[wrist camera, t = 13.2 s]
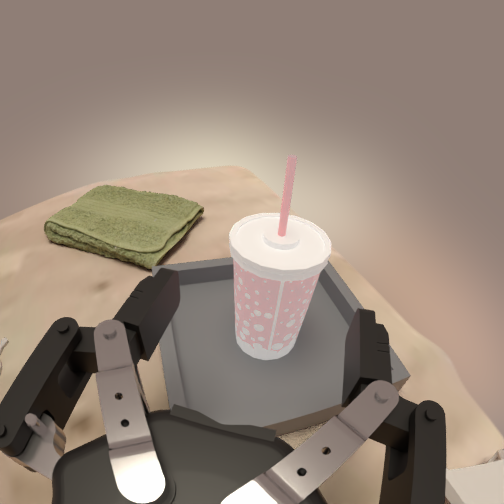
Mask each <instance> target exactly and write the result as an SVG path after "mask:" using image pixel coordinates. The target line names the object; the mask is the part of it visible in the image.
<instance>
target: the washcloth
mask: <svg viewBox="0 0 504 504" xmlns="http://www.w3.org/2000/svg"><path fill="white" fill-rule="evenodd" d="M203 212H204V207H202V206H200V205H198V203H196V202H193V201H189V200H186V199H184V198H182V197H178V196H175V195H168V194H160V193H159V194H158V193H151V192H146V191H142V192H141V191H140V192H139V191H137V190H132V189H127V188H125V187H116V186H110V185H103V186H98V187H96V188H94V189H92V190H90V191H89V192H87V193H86V195H84V196H82V197H81V198H79V199H78V200H77V202H76V203H74V204H73V205H72V206H69V207H66V208H64V209H62V210H61V211H59V212H58V213H57V214H55V215H53V216H51V217H50V218H49V219H48V220H47V221H46V222H45V224H44V231H45V234H46V235H47V236H48V239H49V240H51V241H53V242H54V243H58V244H64V245H66V246H68V247H71V248H78V249H79V250H82V251H86V252H91V253H98V254H100V255H105V257H112V258H113V259H114V258H119V260H121V261H127V262H128V261H130V262H134V263H135V265H140V266H142V267H143V266H144V267H146V268H147V269H152V266H157V264H158V263H159V262H160V260H161V259H162V258H163V257H164V256H165V254H166V253H167V252H168V251H169V250H170V249H171V248H172V247H173V246H174V245H175V244H176V243H177V242H178V241H180V240H181V238H182V237H183V236H184V235H185V233H186V232H187V231H188V230H189V229H190V228H191V226H192V225H193V224H194V222H195V221H196V220H197V219H198V217H200V216H201V215H202V214H203Z"/></svg>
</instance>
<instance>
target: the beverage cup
mask: <svg viewBox="0 0 504 504" xmlns="http://www.w3.org/2000/svg"><path fill="white" fill-rule="evenodd" d="M296 160H297V156H295V155H288V160H287V168H286V176H285V183H284V191H283V198H282V206H281V213H260V214H255V215H251V216H247V217H245V218H243V219H241V220H240V221H238V222H237V223H235V224H234V226H233V227H232V229H231V231H230V233H229V241H230V243H229V247H230V252H231V257H232V258H233V263H234V301H235V332H236V339H237V344H238V345H239V346H240V348H241V349H242V350H243V352H245V353H247V354H248V355H250V356H252V357H253V358H258V359H262V360H272V359H278V358H281V357H283V356H285V355H286V354H288V353H289V352H290V350H291V349H292V348H293V347H294V344H295V341H296V339H297V336H298V334H299V331H300V328H301V326H302V323H303V320H304V317H305V315H306V312H307V309H308V306H309V304H310V301H311V298H312V295H313V292H314V289H315V287H316V284H317V281H318V278H319V275H320V272H321V271H322V270H323V269H324V267H325V266H326V265H327V264H328V258H329V257H330V255H331V241H330V239H329V238H328V236H327V234H326V233H325V231H323V230H322V229H321V228H319V227H318V226H317V225H315V224H314V223H312V222H310V221H308V220H305V219H303V218H300V217H298V216H293V215H289V209H290V203H291V196H292V189H293V182H294V175H295V168H296Z"/></svg>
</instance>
